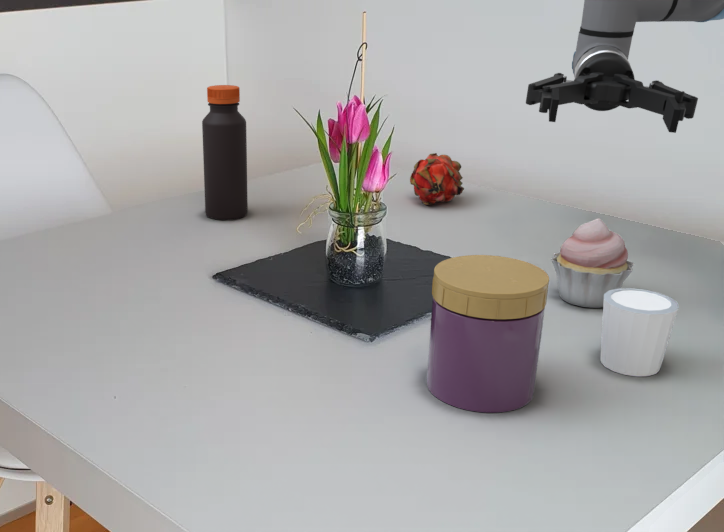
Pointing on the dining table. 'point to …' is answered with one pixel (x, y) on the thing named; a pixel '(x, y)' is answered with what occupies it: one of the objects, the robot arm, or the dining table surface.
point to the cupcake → (591, 264)
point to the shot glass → (636, 330)
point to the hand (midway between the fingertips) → (613, 116)
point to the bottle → (225, 155)
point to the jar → (483, 360)
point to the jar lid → (490, 286)
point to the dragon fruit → (436, 179)
